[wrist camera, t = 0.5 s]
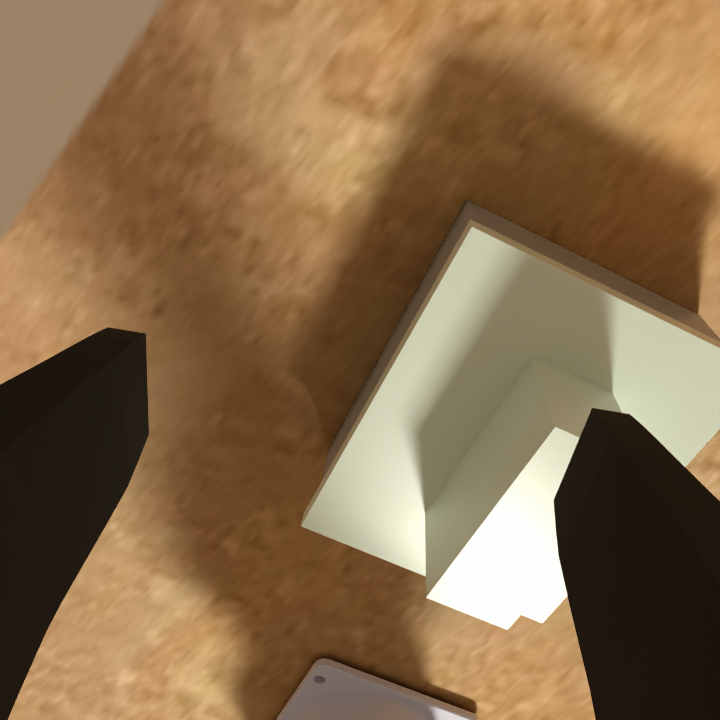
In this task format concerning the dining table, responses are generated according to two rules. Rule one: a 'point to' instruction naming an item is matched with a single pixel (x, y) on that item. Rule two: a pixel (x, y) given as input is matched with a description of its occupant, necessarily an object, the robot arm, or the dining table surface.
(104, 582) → the dining table surface
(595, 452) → the robot arm
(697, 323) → the box
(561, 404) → the lid
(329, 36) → the dining table surface
